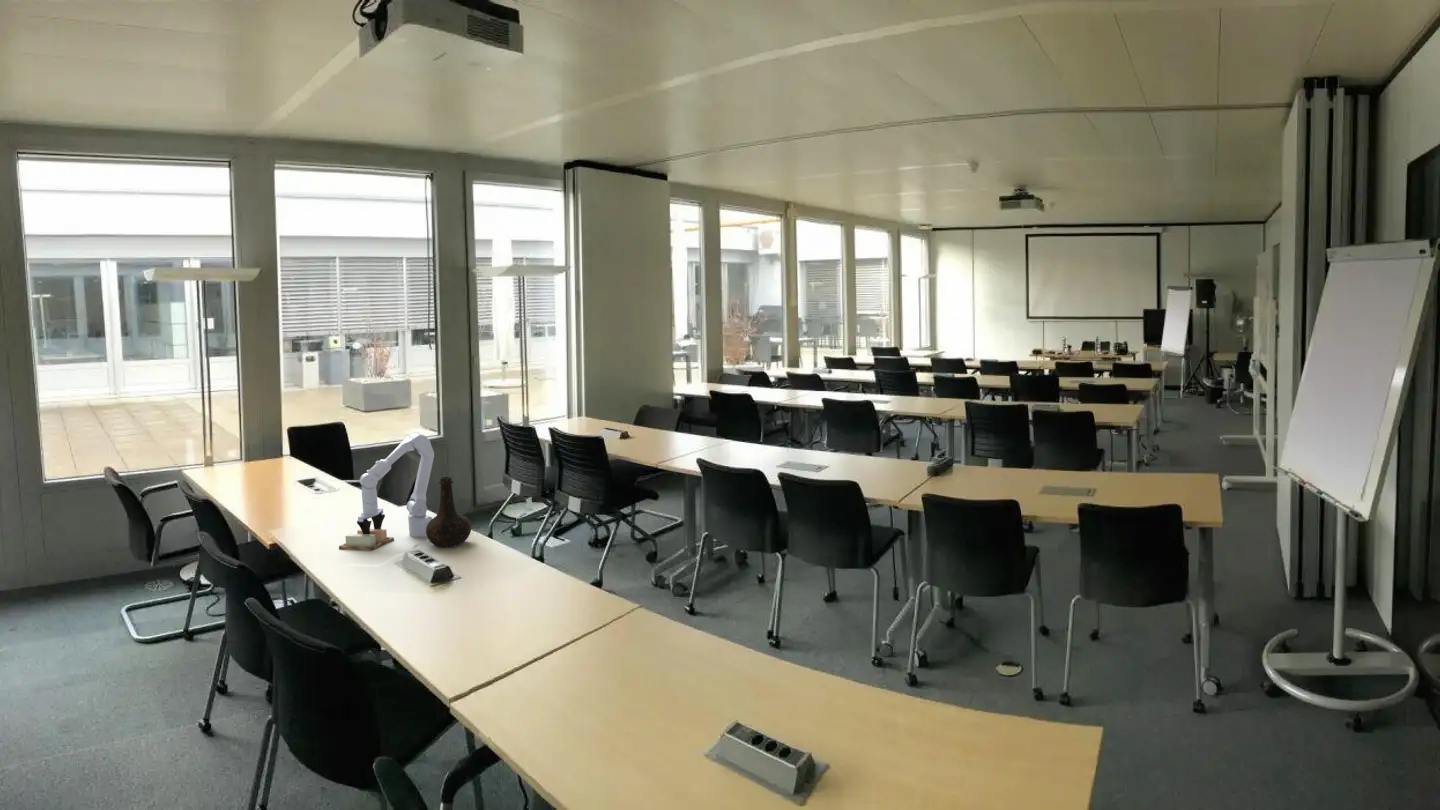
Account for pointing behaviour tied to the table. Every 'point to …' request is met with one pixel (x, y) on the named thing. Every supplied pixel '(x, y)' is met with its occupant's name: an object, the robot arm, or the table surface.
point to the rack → (378, 544)
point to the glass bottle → (447, 520)
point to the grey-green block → (360, 540)
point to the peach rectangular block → (377, 534)
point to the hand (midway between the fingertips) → (372, 534)
